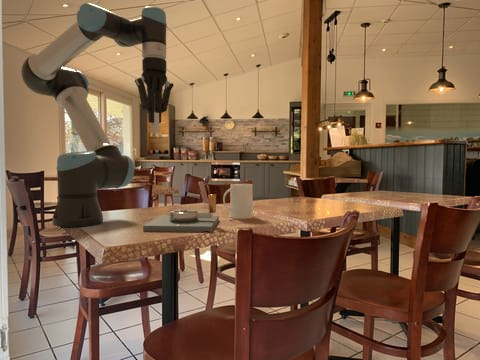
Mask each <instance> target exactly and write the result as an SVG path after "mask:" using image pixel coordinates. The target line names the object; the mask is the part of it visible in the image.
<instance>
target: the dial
mask: <svg viewBox="0 0 480 360" xmlns="http://www.w3.org/2000/svg"><path fill="white" fill-rule="evenodd" d="M207 197H208V198H207V200H208V201H207V208H208V209H207V210H208V211H198V210H193V209H178V210H172V211H169V215H170V221H175V222H190V221H196V220H198V218H212V217H213V216H214V215H213V214H216V212H217V194H216V193H215V194H214V193H213V194H208V196H207Z"/></svg>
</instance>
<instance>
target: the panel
mask: <svg viewBox="0 0 480 360" xmlns="http://www.w3.org/2000/svg"><path fill="white" fill-rule="evenodd" d="M219 217H220V216H219V215H213V217H212V218H198V220H196V221H190V222H175V221H170V214H169V215H168V214H166V215H165V214H160V215H159V216H157V217H156V218H154V219H152V220H150V221H149V222H147V223H145V224H143V225H142V226H143V227H142V231H143V232H179V233H180V232H181V233H182V232H184V233H185V232H186V233H188V232H189V233H192V232H193V233H203V232H202V231H213V230H214V228H215V227H216V225H217V224H218V222H219V219H220V218H219ZM214 226H215V227H214ZM212 229H213V230H212Z"/></svg>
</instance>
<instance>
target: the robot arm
mask: <svg viewBox="0 0 480 360" xmlns="http://www.w3.org/2000/svg"><path fill="white" fill-rule="evenodd" d="M140 15H141V17H139V18H136V19H128V18H127V17H124V16H122V15H120V14H117V13H114V12H112V11H110V10H108V9H106V8H103V7H101V6H100V5H98V4H97V5H95V4H93V3H89V2H86V3H83V4H81V5H80V6H79V9H78V10H77V13H76V21H75V22H74V23H73V24H72V25H71V26H70V27H68V28H67V29H66V30H65V31H64V32H62V33H61V34H60V35H59V36H58V37H57V38H55V39H54V40H52V41H51V42H50V43H49V44H48V45H47V46H46V47H45V48H43V49H42V50H41V51H40V52H39V53H38V52H36V53H35V52H34V53H31V55H30V56H28V57H27V58H26V59H25V60H24V61H23V64H22V66H21V69H20V71H21V72H20V73H21V78H22V80H23V83H24V85H25V86H26V87H27V88H28V89H29V90H31V92H33V93H36V94H38V95H41V96H48V97H53V98H54V99H55V102H56V104H57V105H58V106H59V107H61V108H64V109H65V112H66V113H67V116H68V118H69V119H70V122H71V123H72V126H73V127H74V130H75V131H76V133H77V135H78V137H79V138H80V140H81V143H82V144H83V146H84V148H85V150H86V151H75V152H66V153H63V154H59V155H58V157H57V162H56V171H57V173H56V176H57V178H56V179H57V203H56V205H55V208H54V209H55V210H54V213H53V215H52V226H54V227H59V228H77V227H78V228H79V227H80V228H81V227H89V226H90V227H91V226H95V225H99V224H102V223H103V222H104V215H103V211H102V210H101V206H100V203H99V201H98V190H106V189H107V190H108V189H119V188H124V187H127V186H128V185H129V184H131V182H132V180H133V179H134V175H135V163H134V161H133V159H132V157H130V156H127V155H125V154H122V153H121V151H120V150H119V147H118V146H116V145H114V144H111V142H110V140H109V138H108V136H107V134H106V133H105V131H104V129H103V127H102V125H101V123H100V122H99V120H98V118H97V115H96V114H95V113H94V110H93V109H92V106H91V105H90V103H89V101H88V96H89V92H90V87H89V86H90V84H89V79H88V78H87V76H86V75H85V74H84V73H83V72H81V71H80V70H77V69H75V68H72V67H65V66H66V65H67V64H69V63H70V62H72V60H75V58H77V57H78V56H79V55H81V54H82V53H83V52H84V51H86V50H87V49H89V48H90V47H92V45H94V44H95V43H96V42H98V41H99V40H100V39H101V38H102V37H105V38H108V39H112V40H113V41H114V43H116V44H117V45H118V46H120V47H122V48H129V47H130V48H131V47H134V46H137V45H142V46H141V47H142V48H141V49H142V51H141V56H142V61H141V62H142V65H141V66H142V73H141V76H140V77H138V78H136V79H134V82H135V84H136V87H137V89H138V90H137V91H138V93H139V94H138V95H139V98H140V103H141V109H142V110H143V111H146V113H147V114H148V123H150V134H153V135H154V134H155V135H157V134H160V124H162V113H164V112H167V110H168V106H169V101H170V97H171V91H172V89H173V88H174V83H171V82H170V81H169V80H168V76H167V60H166V59H167V25H168V24H167V15H166V11H164V9H163V8H160V7H158V6H157V7H156V6H144V8H142V10H141V14H140ZM163 87H164V90H163Z"/></svg>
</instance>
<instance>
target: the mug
mask: <svg viewBox="0 0 480 360" xmlns="http://www.w3.org/2000/svg"><path fill="white" fill-rule="evenodd" d="M253 187H254V185H253V184H252V183H231V184H230V187H229V188H228V189H227V190H225V192H224V194H223V197H222V203H223V205H224V207H225V209H227V210H229V213H230V214H229V218H231V219H235V220H248V219H252V218H254V216H253V215H254V214H253V201H254V200H253V195H254V194H253V191H254V190H253ZM228 193H230V194H229V195H230V201H229V202H230V204H229V205H230V207H229V206H228V205H227V204H226V196H227V195H228Z"/></svg>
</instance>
